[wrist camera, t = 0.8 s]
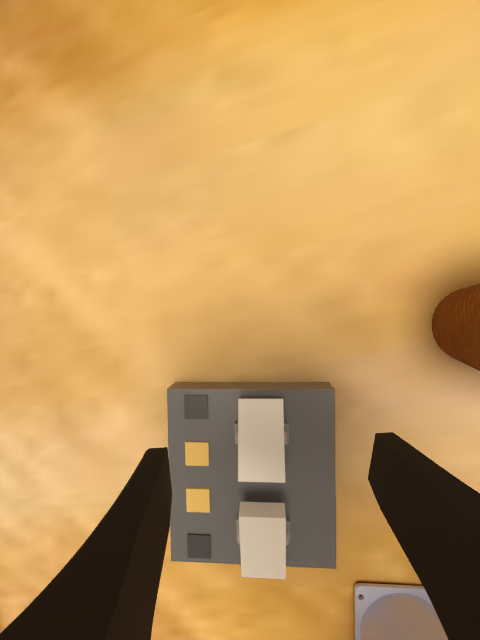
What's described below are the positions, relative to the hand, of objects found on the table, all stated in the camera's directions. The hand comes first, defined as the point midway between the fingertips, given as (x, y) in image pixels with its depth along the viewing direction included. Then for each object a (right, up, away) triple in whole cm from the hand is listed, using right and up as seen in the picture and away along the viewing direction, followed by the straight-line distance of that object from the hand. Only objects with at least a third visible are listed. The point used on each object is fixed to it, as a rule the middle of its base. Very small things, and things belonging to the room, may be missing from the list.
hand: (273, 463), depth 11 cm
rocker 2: (+1, -12, +15) cm, 19 cm away
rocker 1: (+1, -4, +15) cm, 15 cm away
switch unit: (0, -8, +19) cm, 21 cm away
